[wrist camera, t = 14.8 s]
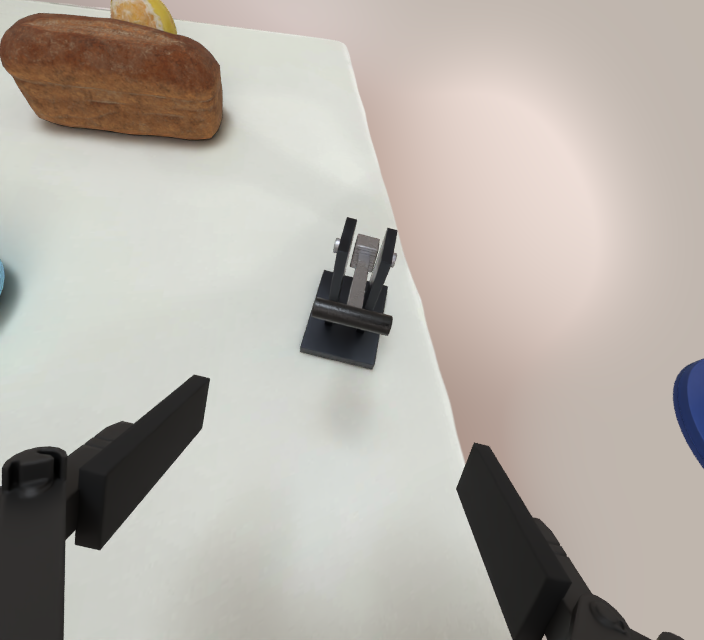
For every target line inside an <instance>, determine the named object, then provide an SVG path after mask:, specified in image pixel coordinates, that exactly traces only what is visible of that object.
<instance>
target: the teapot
mask: <svg viewBox="0 0 704 640" xmlns="http://www.w3.org/2000/svg"><path fill="white" fill-rule="evenodd" d="M3 283H4V268H3V265H2V262H1V260H0V294H1V292H2V289H3Z"/></svg>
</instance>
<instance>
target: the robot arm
mask: <svg viewBox="0 0 704 640" xmlns="http://www.w3.org/2000/svg"><path fill="white" fill-rule="evenodd" d="M209 382H210V378H206V377H202V376H198V375H193V376H192V377H191V378H189V379H188V380H187V381H186V382H185V383H183V384H182V385H181V386H180V387H178V388H177V389H176V390H175V391H174V392H172V393H171V394H170V395H169V396H167V397H166V398H165V399H164V400H162V401H161V402H160V403H159V404H158V405H156V406H155V407H154V408H153V409H151V410H150V411H149V412H148V413H147V414H145V415H144V416H143V417H142V418H140V419H139V420H138V421H137V422H136V423H134V424H132V423H128V422H124V421H121V422H118V423H116V424H113V425H111V426H108V427H106V428H105V429H104V430H102V431H101V432H100V433H98V434H97V435H95V437H94V438H91V439H90V440H89V441H87V442H86V443H85V445H82V446H81V447H79V448H78V449H77V450H75V451H74V452H73V453H71V454H70V455H69V456H67V454H66V451H64V450H62V449H60V448H57V447H50V446H48V447H37V448H33V449H29V450H25V451H23V452H20V453H18V454H16V455H14V456H13V457H11V458H10V459H9V460H7V461H6V462H5V464H4V465H3V467H2V486H0V640H64V586H65V540H66V539H67V538H68V537H69V536H70V535H71V534H72V533H73V532H74V531H75V530H76V533H75V545H79V546H83V547H88V548H92V549H97V550H101V548H102V547H103V546H104V545H105V544H106V543H107V541H108V540H109V539H110V538H111V537H112V535H113V534H114V533H115V532H116V531H117V529H118V528H119V527H120V526H121V525H122V523H123V522H124V521H125V520H126V519H127V517H128V516H129V515H130V514H131V513H132V511H133V510H134V509H135V508H136V507H137V505H138V504H139V503H140V502H141V501H142V500H143V498H144V497H145V496H146V495H147V494H148V492H149V491H150V490H151V489H152V488H153V486H154V485H155V484H156V483H157V482H158V480H159V479H160V478H161V477H162V476H163V474H164V473H165V472H166V471H167V470H168V468H169V467H170V466H171V465H172V464H173V463H174V461H175V460H176V459H177V458H178V457H179V455H180V454H181V453H182V452H183V451H184V449H185V448H186V447H187V446H188V445H189V443H190V442H191V441H192V440H193V439H194V437H195V436H196V435H197V434H198V433H199V431H200V430H201V429H202V426H203V420H204V413H205V407H206V401H207V394H208V388H209ZM456 490H457V492H458V495H459V498H460V500H461V503H462V506H463V509H464V511H465V514H466V517H467V519H468V522H469V525H470V527H471V530H472V533H473V535H474V538H475V541H476V543H477V546H478V549H479V551H480V554H481V557H482V559H483V562H484V565H485V567H486V570H487V573H488V575H489V578H490V581H491V583H492V586H493V589H494V591H495V594H496V597H497V599H498V602H499V605H500V607H501V610H502V613H503V615H504V618H505V621H506V623H507V626H508V629H509V631H510V634H511V637H512V640H542V638H543V636H544V634H545V636H546V638H547V640H651V639H649V638H647V637H645V636H643V635H641V634H639V633H638V632H636V631H634V630H632V629H630V628H629V626H628V625H627V623H626V622H625V620H624V618H623V617H622V616H621V615H620V614H619V613H618V612H617V610H615V608H613V607H612V606H611V605H610V604H609V603H607V602H606V601H605V600H603V599H601V598H600V597H598V596H596V595H593V594H592V593H591V591H590V590H589V588H588V587H587V585H586V584H585V582H584V581H583V579H582V577H581V576H580V574H579V573H578V571H577V570H576V568H575V567H574V565H573V564H572V562H571V560H570V559H569V557H567V555H566V553H565V551H564V550H563V548H562V547H561V546H560V544H559V542H558V540H557V539H556V537H555V536H554V534H553V533H552V531H551V530H550V529H549V528H548V527H547V526H546V525H545V524H544V523H543V522H542V521H541V520H540V519H538V518H533V517H532V516H531V514H530V513H529V511H528V510H527V508H526V506H525V505H524V503H523V501H522V499H521V498H520V496H519V495H518V493H517V491H516V490H515V488H514V486H513V485H512V483H511V481H510V480H509V478H508V476H507V475H506V473H505V471H504V470H503V468H502V467H501V465H500V463H499V462H498V460H497V458H496V457H495V455H494V453H493V452H492V450H491V449H490V447H489V446H486V445H482V444H478V443H474V444H473V447H472V449H471V452H470V455H469V457H468V460H467V462H466V465H465V467H464V470H463V472H462V475H461V478H460V480H459V483H458V485H457V488H456ZM657 640H684V639H682V638H681V637H679V636H677V635H675V634H672V633H670V632H662V633H661V634H660V635H659V637H658V638H657Z"/></svg>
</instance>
